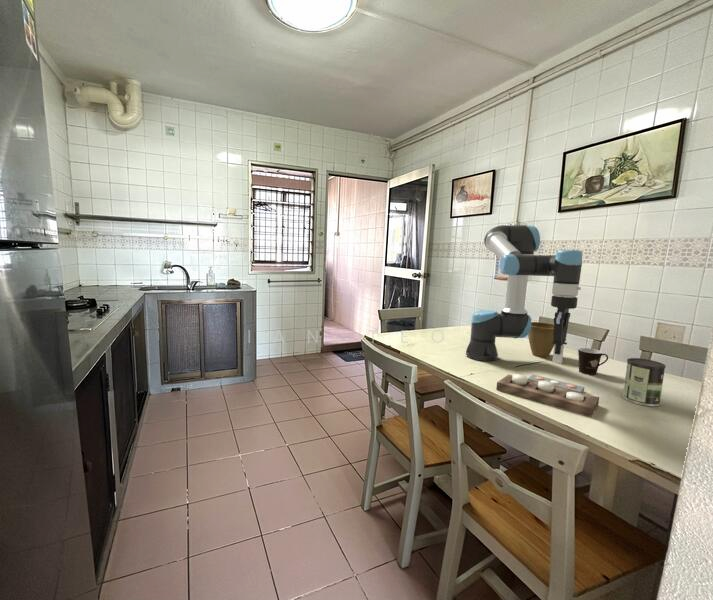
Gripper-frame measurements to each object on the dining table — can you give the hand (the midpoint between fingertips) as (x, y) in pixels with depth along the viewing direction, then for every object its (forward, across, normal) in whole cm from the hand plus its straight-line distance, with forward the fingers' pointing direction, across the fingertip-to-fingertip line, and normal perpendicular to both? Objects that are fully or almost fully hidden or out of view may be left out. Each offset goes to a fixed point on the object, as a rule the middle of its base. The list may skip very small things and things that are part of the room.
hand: (557, 362), depth 117 cm
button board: (+14, -1, +2) cm, 14 cm away
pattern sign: (+14, +12, +2) cm, 19 cm away
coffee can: (+14, +22, -23) cm, 35 cm away
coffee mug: (+14, +43, -6) cm, 46 cm away
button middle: (+11, -1, +3) cm, 11 cm away
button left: (+11, 0, +12) cm, 16 cm away
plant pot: (+15, +57, +18) cm, 61 cm away
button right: (+12, -1, -6) cm, 14 cm away
